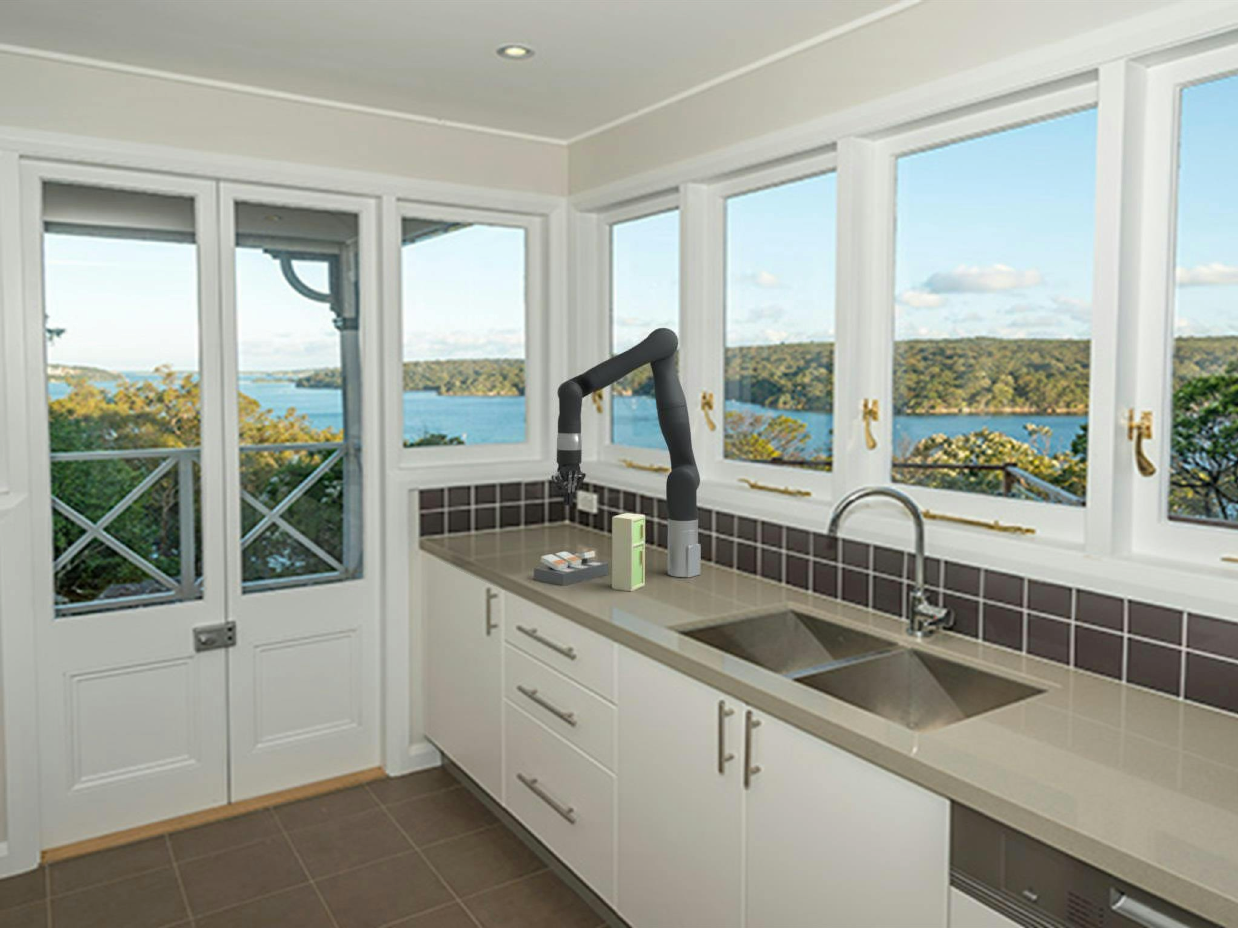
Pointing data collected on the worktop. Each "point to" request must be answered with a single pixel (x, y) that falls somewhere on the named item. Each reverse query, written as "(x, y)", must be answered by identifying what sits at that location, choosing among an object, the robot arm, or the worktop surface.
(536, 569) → the rocker switch panel
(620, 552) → the toy refrigerator
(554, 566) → the block
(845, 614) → the worktop surface
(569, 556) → the block
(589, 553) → the rocker
